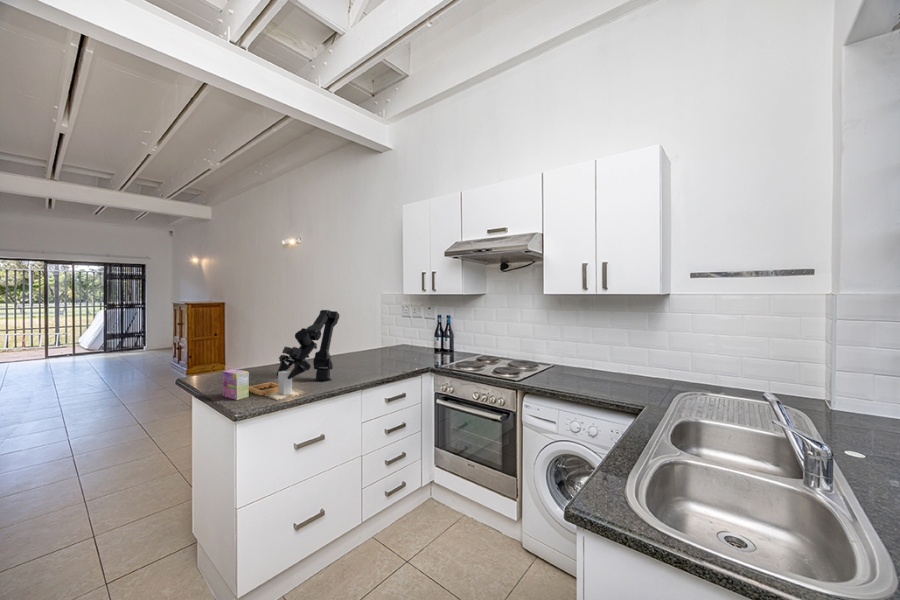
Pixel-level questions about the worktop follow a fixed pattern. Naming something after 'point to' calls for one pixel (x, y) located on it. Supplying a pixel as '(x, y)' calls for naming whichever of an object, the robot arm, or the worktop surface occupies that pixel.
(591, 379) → the worktop surface
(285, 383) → the block
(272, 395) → the board
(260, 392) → the square wooden frame
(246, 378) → the box
